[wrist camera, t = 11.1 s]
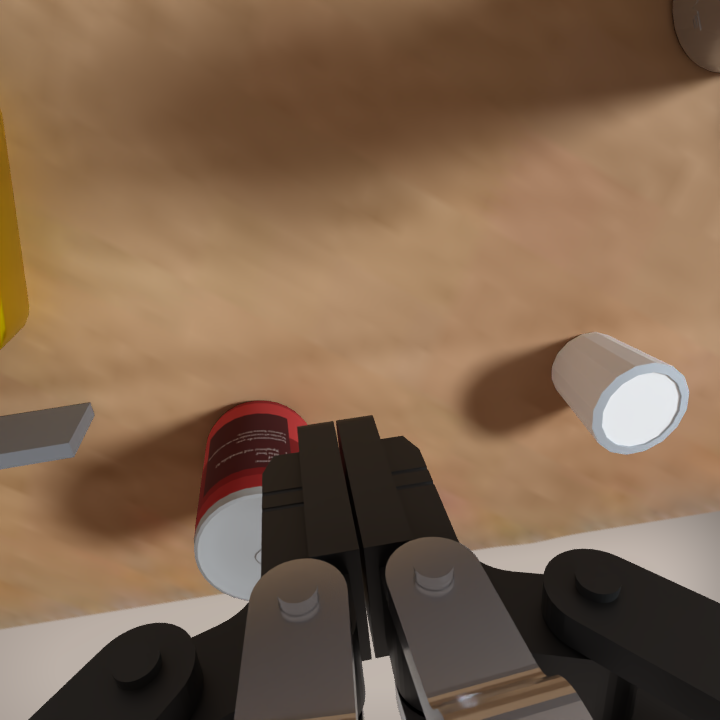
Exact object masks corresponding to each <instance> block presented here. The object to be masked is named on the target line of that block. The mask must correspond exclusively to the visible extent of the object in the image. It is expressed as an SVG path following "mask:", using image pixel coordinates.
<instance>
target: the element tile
mask: <svg viewBox="0 0 720 720" xmlns="http://www.w3.org/2000/svg"><path fill="white" fill-rule="evenodd" d="M28 315H29V302H28V295H27V288H26V281H25V274H24V267H23V260H22V252H21V245H20V238H19V231H18V224H17V217H16V210H15V203H14V196H13V188H12V181H11V174H10V167H9V160H8V153H7V146H6V139H5V132H4V124H3V117H2V112H1V109H0V350H1V349H2V348H3V347H4V346H5V345H6V344H7V343H8V342H9V341H10V340H11V339H12V338H13V337H14V336H15V335H16V334H17V333H18V331H19V330H20V329H21V328H22V327H23V326H24V325H25V323H26V320H27V318H28Z"/></svg>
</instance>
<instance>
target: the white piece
mask: <svg viewBox="0 0 720 720" xmlns="http://www.w3.org/2000/svg"><path fill="white" fill-rule="evenodd" d="M552 381H553V383H554V386H555V388H556V390H557V391H558V393H559V394H560V395H561V396H562V398H563V399H564V400H565V401H566V403H567V404H568V405H569V406H570V408H571V409H572V410H573V412H574V413H575V414H576V415H577V417H578V418H579V419H580V420H581V422H582V423H583V424H584V425H585V427H586V428H587V429H588V431H589V432H590V433H591V434H592V436H593V437H594V438H595V439H596V441H597V442H598V443H599V444H600V445H602V446H603V447H605V448H606V449H607V450H609V451H610V452H614V453H620V454H632V453H637V452H642V451H646V450H647V449H649V448H651V447H653V446H655V445H656V444H658V443H660V442H662V441H663V440H664V439H665V438H666V437H667V436H668V435H669V434H670V433H671V432H672V431H673V430H674V429H675V428H676V427H677V426H678V424H679V422H680V421H681V419H682V417H683V415H684V413H685V411H686V410H687V403H688V397H689V390H688V386H687V383H686V380H685V377H684V376H683V375H682V374H681V373H680V372H679V371H678V370H676V369H675V368H674V367H673V366H671V365H669V364H667V363H665V362H663V361H661V360H659V359H657V358H655V357H653V356H650V355H648V354H646V353H644V352H642V351H640V350H638V349H636V348H634V347H632V346H630V345H628V344H625V343H623V342H621V341H619V340H617V339H615V338H613V337H611V336H609V335H606V334H602V333H597V332H592V333H586V334H581V335H579V336H577V337H576V338H574V339H572V340H571V341H569V342H567V344H566V345H565V346H564V347H563V348H562V349H561V350H560V351H559V352H558V354H557V356H556V358H555V361H554V363H553V365H552Z"/></svg>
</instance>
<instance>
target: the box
mask: <svg viewBox="0 0 720 720" xmlns="http://www.w3.org/2000/svg"><path fill="white" fill-rule="evenodd" d="M94 416H95V415H94V412H93V409H92V406H91V403H84V404H77V405H71V406H65V407H58V408H52V409H45V410H39V411H33V412H26V413H20V414H14V415H7V416H1V417H0V469H5V468H11V467H17V466H23V465H29V464H35V463H41V462H47V461H53V460H59V459H65V458H71V457H74V456H75V454H76V452H77V450H78V448H79V446H80V444H81V442H82V440H83V438H84V436H85V434H86V432H87V430H88V428H89V426H90V424H91V422H92V420H93V418H94Z"/></svg>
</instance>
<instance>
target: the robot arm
mask: <svg viewBox="0 0 720 720" xmlns="http://www.w3.org/2000/svg"><path fill="white" fill-rule="evenodd" d="M673 18H674V25H675V31H676V34H677V36H678V39H679V42H680V45H681V46H682V48H683V49H684V51H685V52H686V54H687V55H688V57H689V58H690V59H691V60H693V61H694V62H695V63H696V64H697V65H698V66H700V67H702V68H704V69H707V70H709V71H711V72H718V73H720V0H673ZM336 426H337V435H338V442H337V437H336V432H335V427H334V422H333V421H331V422H324V423H318V424H311V425H304V426H298V427H297V433H298V444H299V452H296V453H289V454H283V455H277V456H273V457H272V459H271V461H270V462H269V464H268V465H267V467H266V469H265V470H264V472H263V474H262V536H261V578H260V580H259V581H258V582H257V583H256V585H255V586H254V588H253V590H252V592H251V595H250V599H249V603H248V604H247V605H246V606H245V607H244V608H243V609H242V610H241V611H240V612H239V613H237V614H236V615H235V616H233V617H232V618H230V619H229V620H227V621H225V622H223V623H222V624H220V625H218V626H216V627H213V628H211V629H209V630H207V631H205V632H203V633H201V634H199V635H196V636H194V637H192V638H191V637H190V635H189V634H188V633H187V632H186V631H185V630H183V629H182V628H180V627H178V626H175V625H173V624H168V623H152V624H146V625H143V626H139V627H136V628H134V629H131V630H129V631H127V632H125V633H123V634H121V635H120V636H118V637H117V638H115V639H114V640H112V641H111V642H110V643H109V644H107V645H106V646H105V647H104V648H103V649H102V650H101V651H100V652H99V653H98V654H96V655H95V657H93V658H92V659H91V660H90V661H89V662H88V663H87V664H86V665H85V666H84V667H83V668H82V669H81V670H80V671H79V672H78V673H77V674H76V675H75V676H73V677H72V679H70V680H69V681H68V682H67V683H66V684H65V685H64V686H63V687H62V688H61V689H60V690H59V691H58V692H57V693H56V694H55V695H54V696H53V697H52V698H50V699H49V701H47V702H46V703H45V704H44V705H43V706H42V707H41V708H40V709H39V710H38V711H37V712H36V713H35V714H34V715H33V716H32V717H31V718H30V719H29V720H364V712H363V705H364V702H365V685H364V677H363V669H362V661H364V660H370V659H371V649H370V641H369V632H368V623H367V615H368V621H369V626H370V631H371V636H372V641H373V647H374V652H375V657H376V658H379V657H384V656H389V655H390V660H391V664H392V669H393V674H394V678H395V688H396V700H397V705H398V709H399V712H400V716H401V719H402V720H720V603H718V602H716V601H714V600H711V599H709V598H707V597H705V596H703V595H701V594H698V593H696V592H694V591H692V590H690V589H687V588H685V587H683V586H681V585H679V584H677V583H674V582H672V581H670V580H668V579H666V578H663V577H661V576H659V575H657V574H655V573H653V572H650V571H648V570H646V569H644V568H642V567H640V566H637V565H635V564H633V563H631V562H629V561H626V560H624V559H622V558H620V557H618V556H615V555H613V554H610V553H607V552H603V551H599V550H593V549H574V550H570V551H566V552H563V553H561V554H559V555H557V556H556V557H554V558H553V559H552V560H551V561H550V562H549V563H548V565H547V566H546V568H545V571H544V574H534V573H523V572H512V571H505V570H501V569H497V568H493V567H491V566H488V565H485V564H483V563H482V562H480V561H479V560H478V558H477V557H476V555H475V554H473V552H472V551H471V550H470V549H468V548H467V547H466V546H464V545H462V544H460V543H459V541H458V539H457V537H456V534H455V532H454V530H453V527H452V525H451V523H450V520H449V518H448V515H447V513H446V511H445V508H444V506H443V504H442V501H441V499H440V497H439V494H438V492H437V490H436V487H435V485H433V480H432V478H431V476H430V473H429V471H428V470H427V466H426V464H425V461H424V459H423V457H422V454H421V452H420V450H419V448H417V447H416V446H415V445H413V444H412V443H411V442H410V441H408V440H407V439H406V438H405V437H403V436H398V437H392V438H385V439H380V436H379V433H378V430H377V427H376V424H375V421H374V418H373V416H372V415H370V416H363V417H356V418H350V419H343V420H337V421H336ZM338 443H339V447H338ZM339 451H340V452H339ZM366 610H367V614H366Z"/></svg>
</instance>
